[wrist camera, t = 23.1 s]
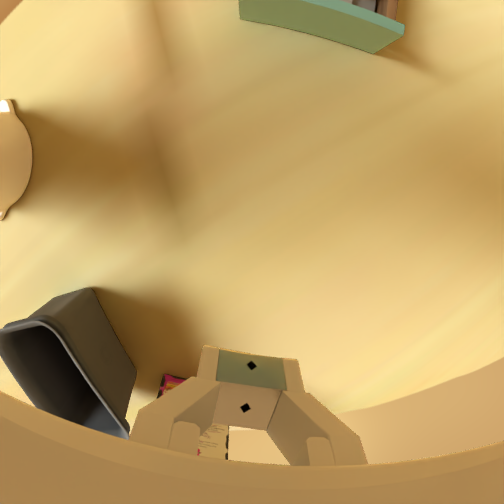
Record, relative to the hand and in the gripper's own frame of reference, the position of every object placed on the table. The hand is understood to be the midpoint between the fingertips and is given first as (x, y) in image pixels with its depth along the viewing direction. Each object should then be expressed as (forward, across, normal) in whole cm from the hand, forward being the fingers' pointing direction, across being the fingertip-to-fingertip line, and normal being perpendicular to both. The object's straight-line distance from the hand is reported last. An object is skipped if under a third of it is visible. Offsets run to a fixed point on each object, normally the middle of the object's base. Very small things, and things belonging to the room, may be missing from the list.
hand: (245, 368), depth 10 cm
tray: (+31, -3, -30) cm, 43 cm away
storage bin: (+31, +20, +26) cm, 45 cm away
